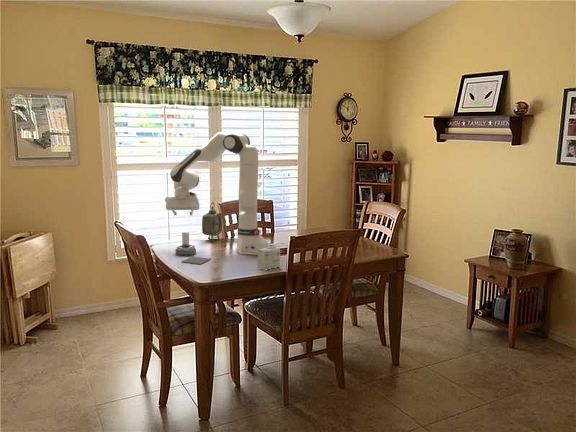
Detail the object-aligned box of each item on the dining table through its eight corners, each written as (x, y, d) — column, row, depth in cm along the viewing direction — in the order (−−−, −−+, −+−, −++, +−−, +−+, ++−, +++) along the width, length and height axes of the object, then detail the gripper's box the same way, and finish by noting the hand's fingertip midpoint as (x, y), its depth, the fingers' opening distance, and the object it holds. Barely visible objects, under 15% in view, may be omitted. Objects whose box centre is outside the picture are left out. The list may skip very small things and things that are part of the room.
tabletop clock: (214, 242, 331) (214, 204, 327) (201, 241, 333) (201, 203, 329) (221, 237, 345) (221, 201, 341) (209, 236, 347) (209, 200, 343)
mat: (211, 259, 289) (211, 258, 288) (200, 264, 277) (200, 263, 277) (192, 257, 292) (192, 256, 292) (181, 262, 281) (181, 261, 281)
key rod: (190, 249, 301) (190, 232, 300) (186, 250, 298) (186, 233, 296) (184, 248, 303) (184, 231, 301) (181, 249, 299) (180, 233, 297)
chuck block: (199, 252, 304) (199, 245, 304) (189, 257, 293) (189, 249, 292) (182, 250, 308) (182, 243, 307) (171, 254, 297) (171, 247, 296)
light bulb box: (272, 265, 281) (273, 246, 279) (280, 267, 276) (280, 248, 274) (257, 268, 274) (257, 248, 272) (264, 271, 269) (264, 251, 267)
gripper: (165, 193, 311) (165, 211, 303) (198, 193, 317) (200, 211, 309) (164, 199, 316) (165, 217, 308) (197, 199, 322) (199, 217, 314)
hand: (183, 214), depth 309 cm, fingers open, 8 cm apart
